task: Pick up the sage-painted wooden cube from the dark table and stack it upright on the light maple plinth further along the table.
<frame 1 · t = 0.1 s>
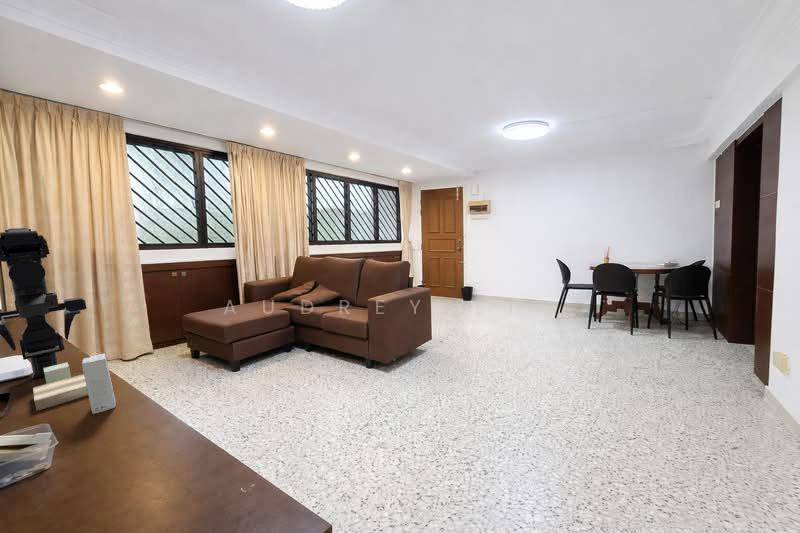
hand: (41, 344, 89), 15 cm above the table, fingers open, 9 cm apart
skincare box: (103, 407, 85), on the table
sage cube: (59, 384, 101), on the table
maple plinth: (65, 394, 93), on the table
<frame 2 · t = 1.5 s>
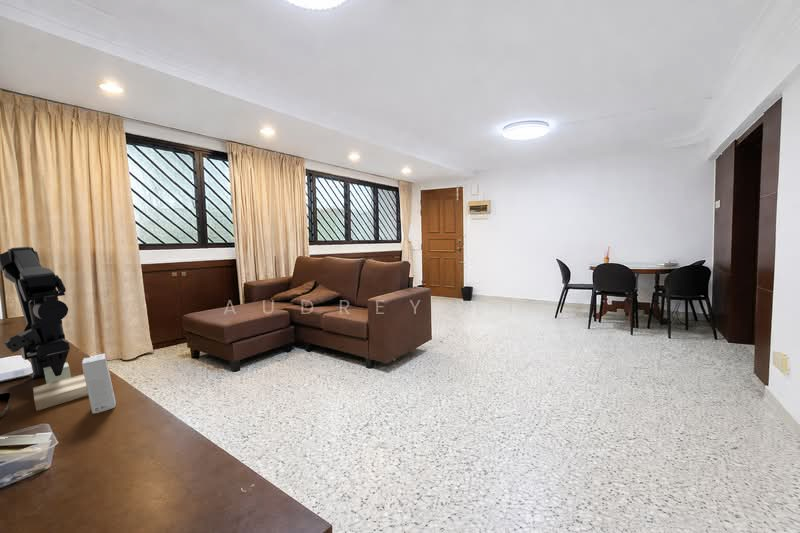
hand: (57, 371, 101), 4 cm above the table, fingers open, 9 cm apart
nothing on the table moved.
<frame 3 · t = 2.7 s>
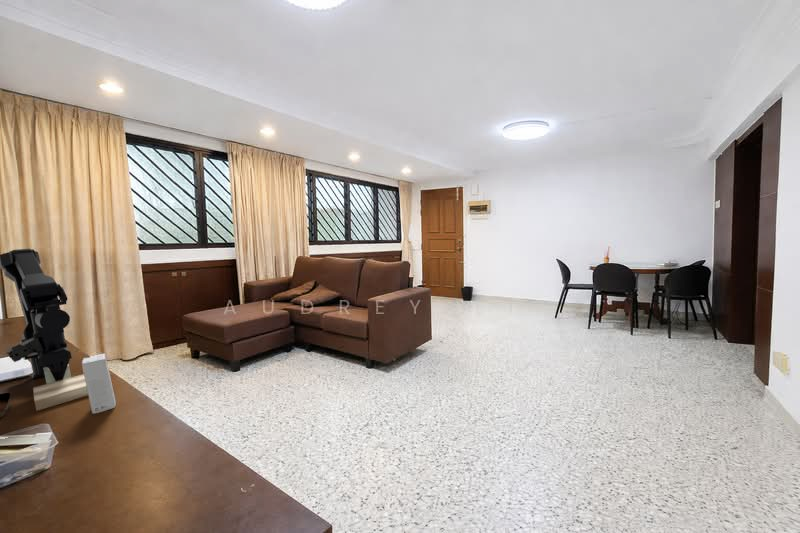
hand: (58, 380, 101), 1 cm above the table, fingers closed on sage cube, 5 cm apart
sage cube: (59, 383, 101), on the table, touching gripper
everything else where it was.
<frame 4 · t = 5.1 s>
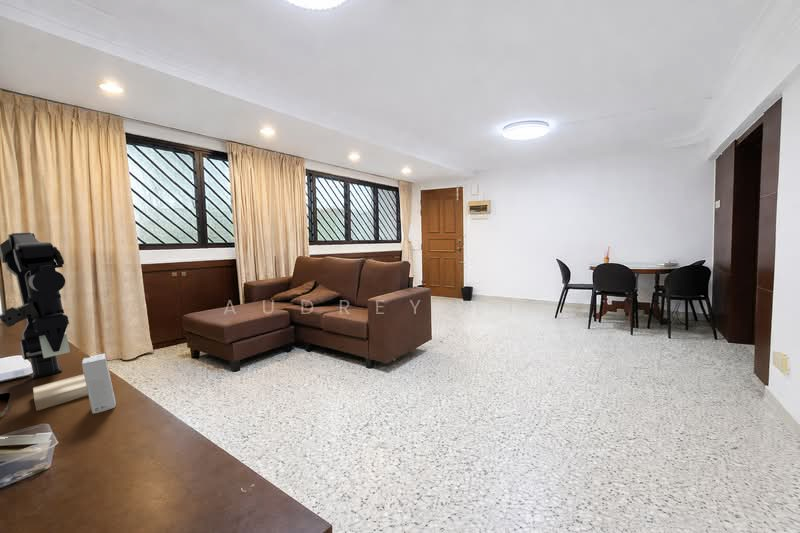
hand: (55, 349, 94), 11 cm above the table, fingers closed on sage cube, 5 cm apart
sage cube: (56, 353, 94), point 10 cm above the table, touching gripper
everything else where it was.
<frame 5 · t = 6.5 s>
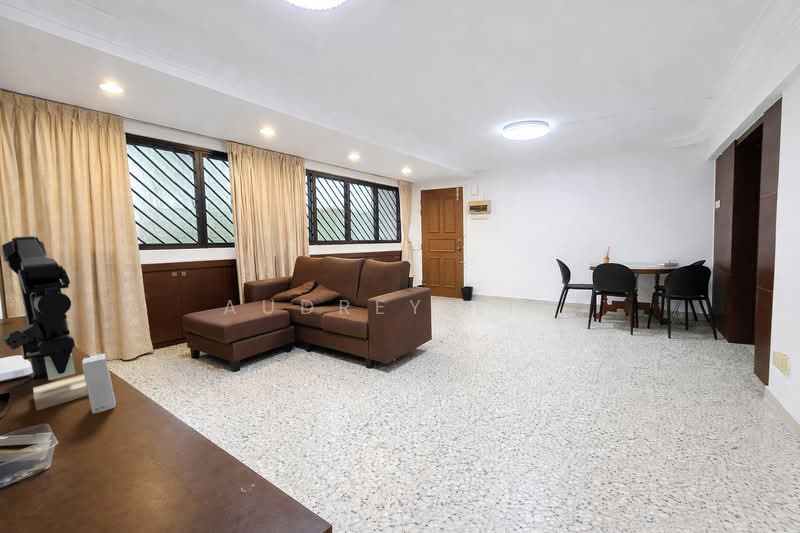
hand: (60, 370, 92), 7 cm above the table, fingers closed on sage cube, 5 cm apart
sage cube: (61, 374, 92), point 6 cm above the table, touching gripper
everything else where it was.
when the fingers open (4 cm above the table, at t = 7.8 s): sage cube stays where it is, resting on maple plinth.
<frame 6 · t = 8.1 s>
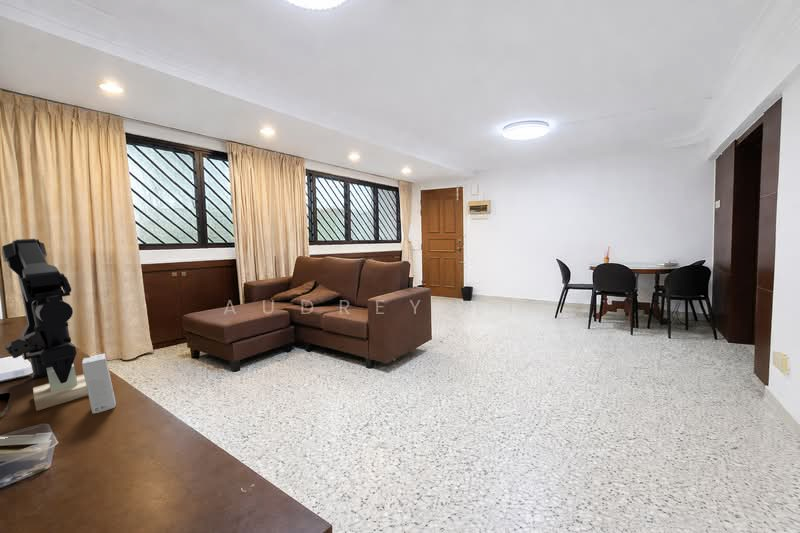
hand: (62, 378, 93), 4 cm above the table, fingers open, 8 cm apart
sage cube: (63, 385, 93), point 2 cm above the table, touching maple plinth
everything else where it was.
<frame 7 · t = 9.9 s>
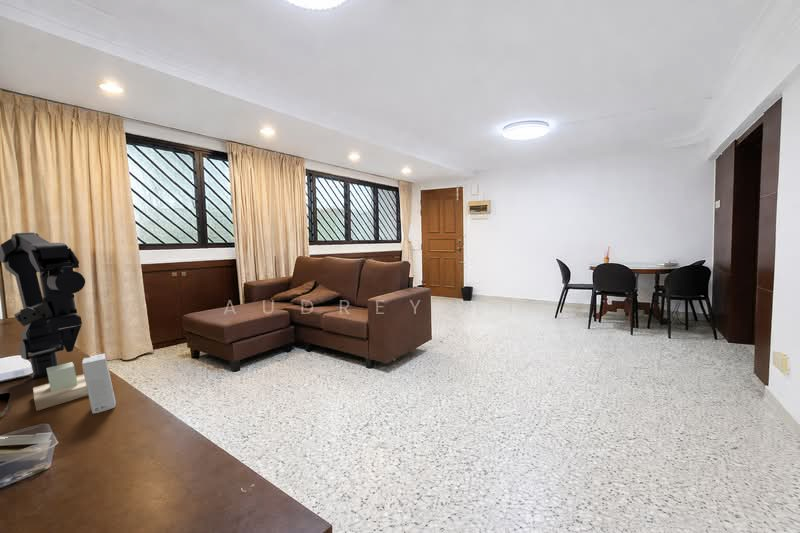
hand: (68, 348, 96), 11 cm above the table, fingers open, 9 cm apart
nothing on the table moved.
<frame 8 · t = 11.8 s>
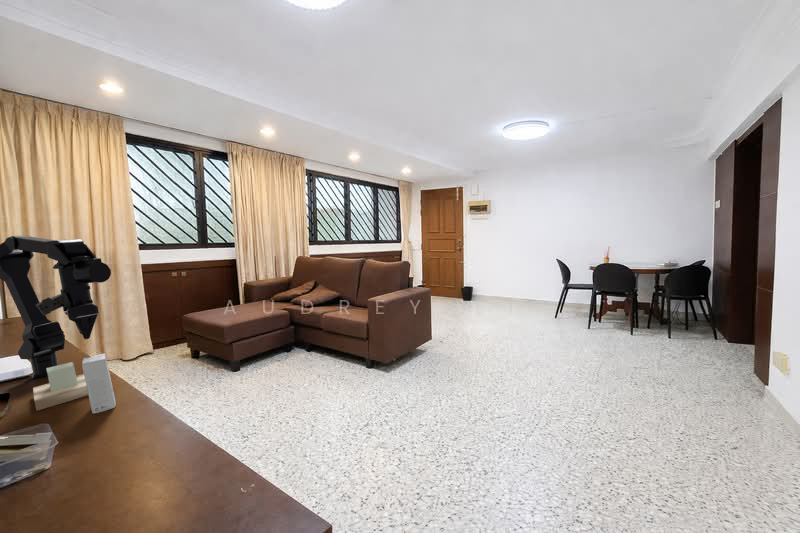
hand: (84, 336, 104), 12 cm above the table, fingers open, 9 cm apart
nothing on the table moved.
at the end: sage cube inside the target area on the maple plinth (0.1 cm from its centre), point 2.5 cm above the maple plinth's base; sage cube tilted 0°; the gripper is holding nothing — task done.
